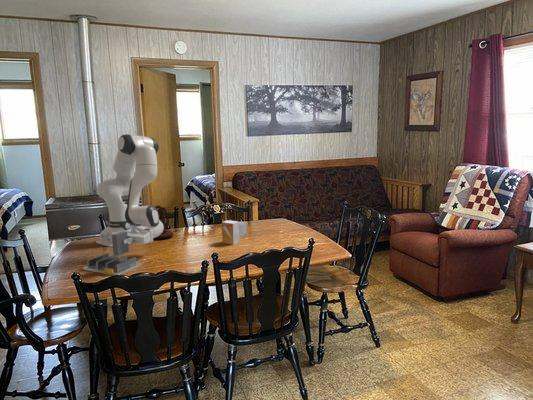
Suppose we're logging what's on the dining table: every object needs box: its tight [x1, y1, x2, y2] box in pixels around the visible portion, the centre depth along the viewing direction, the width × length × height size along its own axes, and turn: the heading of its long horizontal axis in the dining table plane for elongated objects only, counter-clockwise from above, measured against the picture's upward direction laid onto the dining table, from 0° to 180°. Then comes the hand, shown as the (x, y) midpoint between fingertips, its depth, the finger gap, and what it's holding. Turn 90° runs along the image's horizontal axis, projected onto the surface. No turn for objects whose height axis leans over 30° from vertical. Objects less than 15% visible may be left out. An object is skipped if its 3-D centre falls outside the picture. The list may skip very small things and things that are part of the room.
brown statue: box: [154, 205, 174, 241], centre depth 249 cm, size 15×15×20 cm
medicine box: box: [238, 220, 247, 238], centre depth 252 cm, size 8×4×9 cm, turn 141°
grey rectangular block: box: [112, 231, 130, 257], centre depth 192 cm, size 3×7×10 cm, turn 157°
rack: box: [82, 252, 142, 276], centre depth 196 cm, size 22×17×4 cm
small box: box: [221, 219, 240, 246], centre depth 236 cm, size 8×6×13 cm
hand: (119, 241), depth 191 cm, fingers closed on grey rectangular block, 3 cm apart
